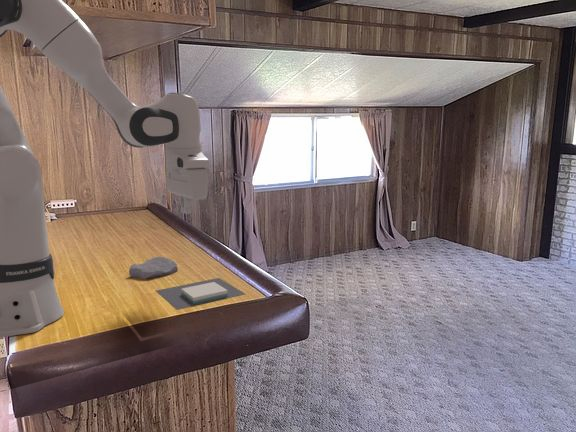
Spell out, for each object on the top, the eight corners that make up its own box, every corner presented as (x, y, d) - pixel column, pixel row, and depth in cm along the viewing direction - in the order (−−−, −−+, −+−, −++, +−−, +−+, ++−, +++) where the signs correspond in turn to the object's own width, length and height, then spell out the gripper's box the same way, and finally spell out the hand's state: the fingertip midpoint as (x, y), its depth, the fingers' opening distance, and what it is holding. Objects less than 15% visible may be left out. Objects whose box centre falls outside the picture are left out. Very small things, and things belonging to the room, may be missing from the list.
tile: (181, 294, 119) (193, 304, 113) (181, 288, 119) (193, 297, 112) (214, 287, 124) (227, 296, 118) (214, 281, 124) (227, 290, 117)
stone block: (181, 278, 141) (160, 266, 146) (182, 263, 139) (160, 252, 145) (147, 290, 132) (126, 277, 137) (148, 275, 130) (126, 262, 136)
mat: (177, 312, 110) (177, 309, 109) (155, 292, 123) (155, 290, 123) (246, 296, 119) (245, 293, 119) (219, 279, 132) (218, 277, 132)
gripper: (158, 158, 126) (161, 208, 129) (186, 161, 110) (189, 220, 112) (181, 157, 130) (183, 206, 132) (212, 160, 113) (213, 217, 115)
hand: (186, 213), depth 122 cm, fingers closed
